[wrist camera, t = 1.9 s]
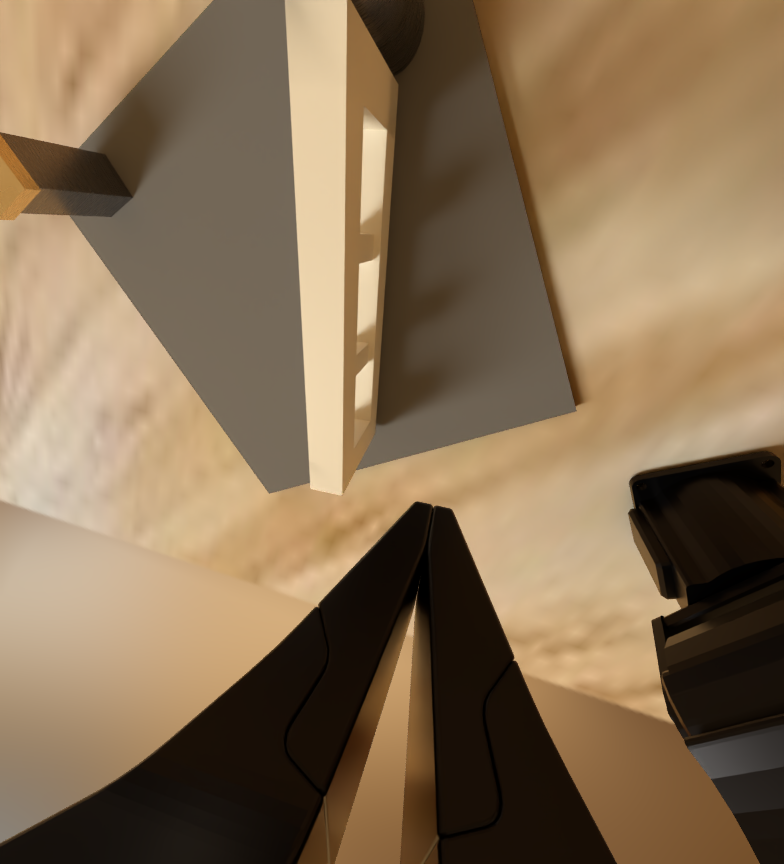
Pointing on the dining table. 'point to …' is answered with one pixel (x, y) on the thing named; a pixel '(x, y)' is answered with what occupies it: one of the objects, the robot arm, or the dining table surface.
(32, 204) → the post
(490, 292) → the mat
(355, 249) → the gate
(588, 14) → the dining table surface
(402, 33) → the hinge post
